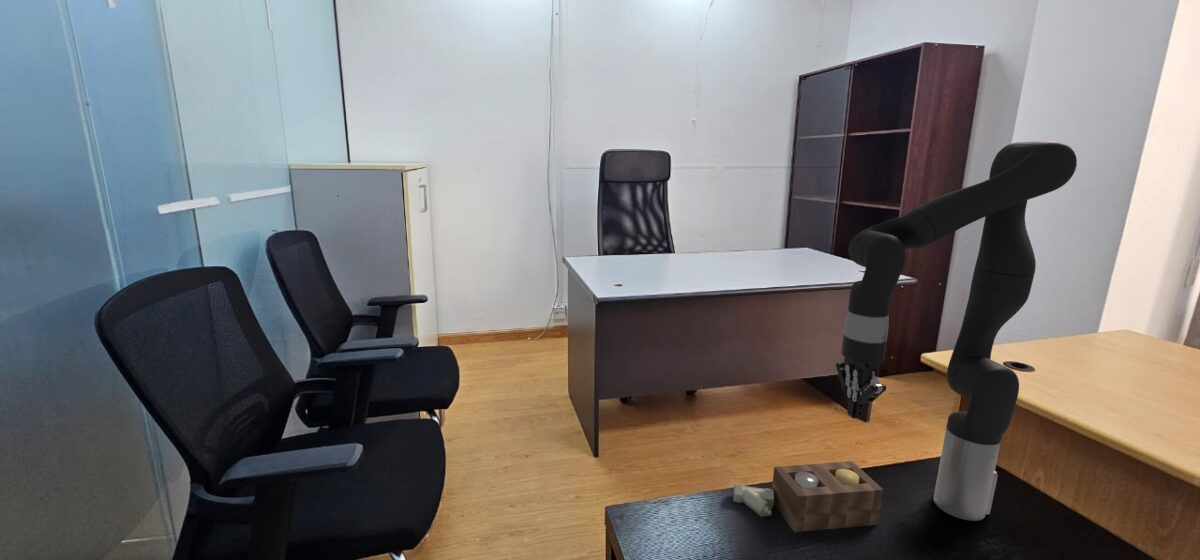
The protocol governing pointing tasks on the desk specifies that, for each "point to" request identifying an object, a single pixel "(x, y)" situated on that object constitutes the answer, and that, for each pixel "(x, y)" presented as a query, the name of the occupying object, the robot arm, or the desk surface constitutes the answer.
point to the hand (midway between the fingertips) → (854, 416)
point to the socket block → (826, 498)
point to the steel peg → (806, 480)
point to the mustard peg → (846, 477)
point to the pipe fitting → (755, 498)
